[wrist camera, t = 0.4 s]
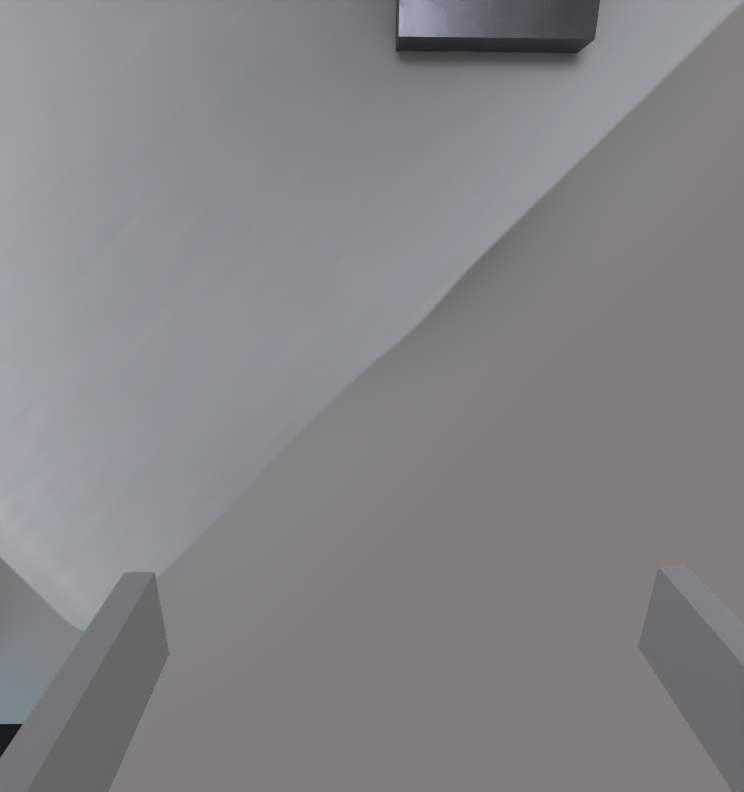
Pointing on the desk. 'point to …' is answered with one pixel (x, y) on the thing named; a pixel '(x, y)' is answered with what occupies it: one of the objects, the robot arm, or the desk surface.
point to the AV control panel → (496, 25)
